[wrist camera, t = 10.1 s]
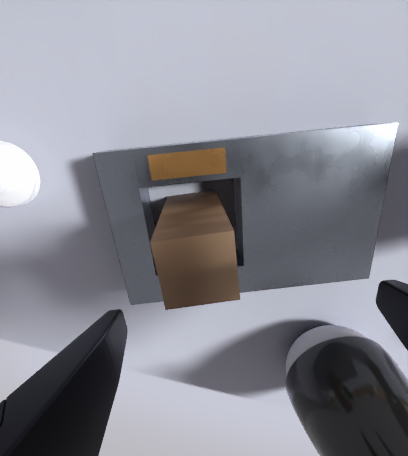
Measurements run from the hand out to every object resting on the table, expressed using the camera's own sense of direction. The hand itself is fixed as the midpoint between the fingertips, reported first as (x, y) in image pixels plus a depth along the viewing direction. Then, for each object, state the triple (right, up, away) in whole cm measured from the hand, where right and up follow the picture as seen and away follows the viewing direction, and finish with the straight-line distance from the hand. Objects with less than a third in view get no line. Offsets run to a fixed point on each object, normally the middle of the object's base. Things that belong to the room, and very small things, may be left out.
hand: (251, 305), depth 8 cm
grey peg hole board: (+2, +4, +12) cm, 13 cm away
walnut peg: (-2, +4, +12) cm, 13 cm away
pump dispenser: (+11, -10, +19) cm, 24 cm away
